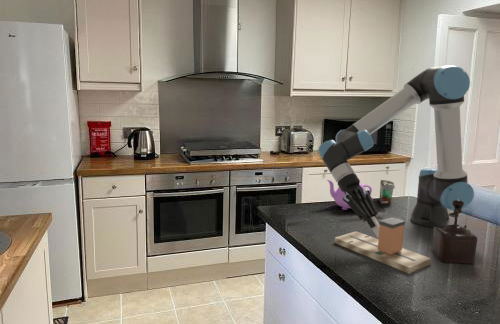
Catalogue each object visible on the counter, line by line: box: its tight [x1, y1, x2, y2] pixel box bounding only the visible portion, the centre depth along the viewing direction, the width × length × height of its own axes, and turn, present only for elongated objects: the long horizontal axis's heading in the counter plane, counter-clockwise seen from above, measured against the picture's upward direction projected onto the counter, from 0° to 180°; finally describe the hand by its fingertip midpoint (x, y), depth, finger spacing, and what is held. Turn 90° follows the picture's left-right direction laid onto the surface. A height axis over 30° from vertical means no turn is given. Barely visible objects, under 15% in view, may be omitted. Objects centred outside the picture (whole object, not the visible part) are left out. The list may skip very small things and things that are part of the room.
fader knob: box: [378, 216, 406, 255], centre depth 134 cm, size 5×7×10 cm
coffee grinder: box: [431, 200, 478, 265], centre depth 137 cm, size 16×11×18 cm
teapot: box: [326, 179, 374, 211], centre depth 189 cm, size 22×16×14 cm
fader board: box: [334, 231, 432, 275], centre depth 138 cm, size 30×12×2 cm, turn 37°
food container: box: [379, 179, 396, 205], centre depth 200 cm, size 12×6×10 cm, turn 168°
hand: (381, 235), depth 137 cm, fingers closed
